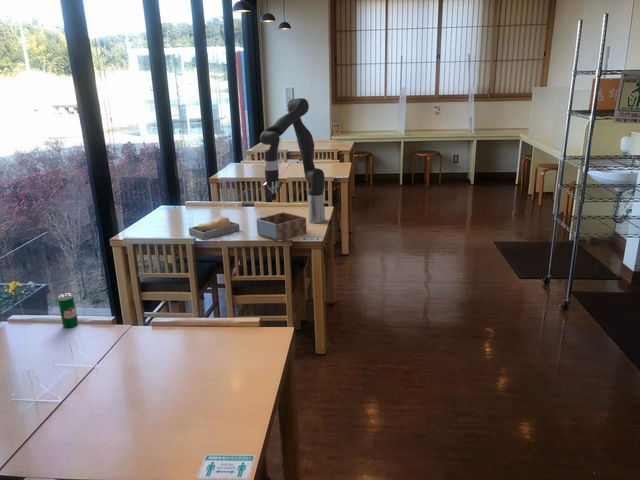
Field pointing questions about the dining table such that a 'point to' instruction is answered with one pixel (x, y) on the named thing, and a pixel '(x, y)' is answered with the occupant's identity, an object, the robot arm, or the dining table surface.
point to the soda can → (67, 310)
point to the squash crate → (213, 231)
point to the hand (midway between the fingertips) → (273, 199)
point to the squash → (215, 224)
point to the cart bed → (287, 225)
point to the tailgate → (267, 229)
